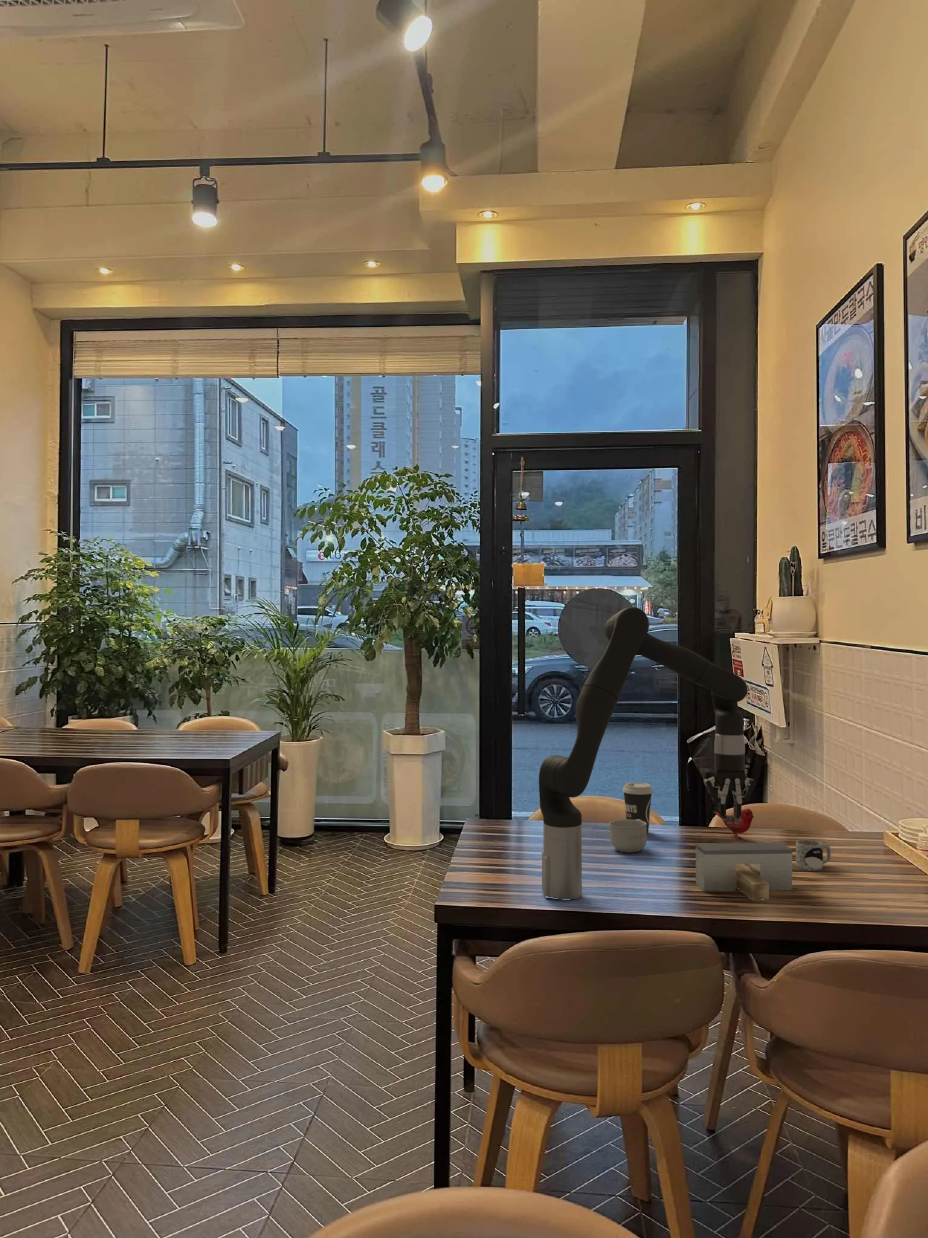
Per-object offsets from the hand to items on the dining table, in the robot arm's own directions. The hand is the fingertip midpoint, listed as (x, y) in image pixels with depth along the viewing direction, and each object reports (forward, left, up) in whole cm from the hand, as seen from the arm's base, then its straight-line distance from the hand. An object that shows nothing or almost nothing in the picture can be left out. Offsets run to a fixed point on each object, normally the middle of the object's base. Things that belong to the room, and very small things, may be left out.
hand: (729, 817), depth 211 cm
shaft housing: (0, -9, -15) cm, 18 cm away
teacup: (-19, +27, -15) cm, 36 cm away
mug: (+26, +7, -15) cm, 31 cm away
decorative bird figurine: (+16, +39, -15) cm, 45 cm away
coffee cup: (-12, +46, -15) cm, 50 cm away
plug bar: (0, -8, -15) cm, 17 cm away
